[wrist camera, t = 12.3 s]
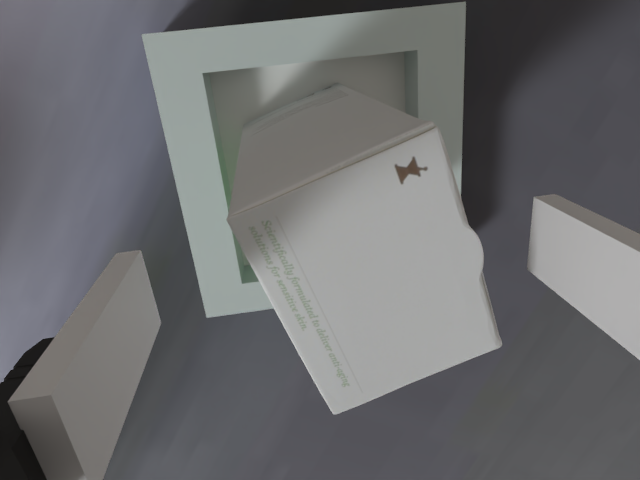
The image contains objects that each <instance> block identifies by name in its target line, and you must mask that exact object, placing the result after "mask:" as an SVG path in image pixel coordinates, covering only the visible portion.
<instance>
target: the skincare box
mask: <svg viewBox="0 0 640 480" xmlns="http://www.w3.org/2000/svg"><path fill="white" fill-rule="evenodd" d="M226 220H227V222H228V224H229V226H230V228H231V230H232V231H233V233H234V235H235V237H236V239H237V241H238V242H239V244H240V246H241V248H242V250H243V252H244V254H245V256H246V258H247V260H248V261H249V263H250V265H251V267H252V269H253V271H254V272H255V274H256V276H257V278H258V280H259V282H260V284H261V285H262V287H263V289H264V291H265V293H266V295H267V296H268V298H269V300H270V302H271V304H272V305H273V307H274V309H275V311H276V313H277V315H278V317H279V319H280V320H281V322H282V324H283V326H284V328H285V330H286V332H287V333H288V335H289V337H290V339H291V341H292V343H293V344H294V346H295V348H296V350H297V352H298V354H299V355H300V357H301V359H302V361H303V363H304V364H305V366H306V368H307V370H308V372H309V373H310V375H311V377H312V379H313V380H314V382H315V384H316V386H317V387H318V389H319V391H320V393H321V395H322V396H323V398H324V400H325V401H326V403H327V405H328V406H329V408H330V410H331V411H332V413H333V414H338V413H341V412H343V411H346V410H348V409H351V408H353V407H356V406H359V405H361V404H363V403H366V402H368V401H370V400H373V399H375V398H378V397H380V396H382V395H384V394H387V393H389V392H391V391H394V390H396V389H398V388H400V387H403V386H405V385H407V384H410V383H412V382H415V381H417V380H420V379H422V378H425V377H427V376H430V375H432V374H435V373H437V372H440V371H442V370H445V369H447V368H450V367H452V366H455V365H457V364H459V363H462V362H464V361H467V360H469V359H472V358H474V357H477V356H479V355H482V354H484V353H487V352H490V351H492V350H495V349H497V348H500V347H501V346H502V341H501V338H500V336H499V333H498V329H497V325H496V321H495V317H494V314H493V310H492V306H491V302H490V298H489V294H488V290H487V287H486V283H485V279H484V275H483V271H482V268H483V262H484V254H483V248H482V245H481V242H480V240H479V238H478V236H477V234H476V233H475V232H474V230H473V229H472V228H471V227H470V226H469V224H468V221H467V217H466V214H465V210H464V207H463V203H462V200H461V196H460V193H459V189H458V186H457V182H456V179H455V176H454V173H453V170H452V166H451V162H450V159H449V155H448V152H447V149H446V146H445V143H444V139H443V137H442V134H441V132H440V129H439V128H438V127H437V126H436V125H435V124H434V122H432V121H425V120H421V119H418V118H416V117H413V116H411V115H409V114H406V113H404V112H402V111H400V110H398V109H395V108H393V107H391V106H389V105H387V104H384V103H382V102H380V101H378V100H375V99H373V98H371V97H368V96H366V95H364V94H362V93H360V92H357V91H355V90H353V89H351V88H348V87H346V86H345V85H343V84H340V83H336V84H333V85H331V86H328V87H326V88H324V89H321V90H319V91H317V92H314V93H312V94H310V95H307V96H305V97H303V98H301V99H298V100H296V101H294V102H292V103H289V104H287V105H285V106H283V107H281V108H278V109H276V110H274V111H272V112H270V113H267V114H265V115H263V116H261V117H259V118H256V119H254V120H252V121H250V122H248V123H246V124H244V125H243V131H242V136H241V142H240V149H239V154H238V161H237V167H236V172H235V178H234V184H233V190H232V198H231V201H230V207H229V213H228V217H227V219H226Z"/></svg>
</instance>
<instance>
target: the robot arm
mask: <svg viewBox="0 0 640 480" xmlns="http://www.w3.org/2000/svg"><path fill="white" fill-rule="evenodd" d="M527 270H529V271H530V272H531V273H532V274H534V275H535V276H536V277H537V278H539V279H540V280H541V281H542V282H544V283H545V284H546V285H547V286H548V287H550V288H551V289H552V290H553V291H555V292H556V293H557V294H558V295H560V296H561V297H562V298H563V299H565V300H566V301H567V302H568V303H570V304H571V305H572V306H573V307H575V308H576V309H577V310H578V311H579V312H581V313H582V314H583V315H584V316H586V317H587V318H588V319H589V320H591V321H592V322H593V323H594V324H596V325H597V326H598V327H599V328H601V329H602V330H603V331H604V332H606V333H607V334H608V335H609V336H611V337H612V338H613V339H614V340H615V341H617V342H618V343H619V344H620V345H622V346H623V347H624V348H625V349H627V350H628V351H629V352H630V353H632V354H633V355H634V356H635V357H637V358H638V359H639V360H640V234H639V233H636V232H634V231H632V230H630V229H628V228H626V227H624V226H622V225H619V224H617V223H615V222H613V221H611V220H609V219H607V218H605V217H603V216H600V215H598V214H596V213H594V212H592V211H590V210H588V209H586V208H584V207H581V206H579V205H577V204H575V203H573V202H571V201H569V200H567V199H565V198H562V197H560V196H558V195H556V194H552V195H545V196H537V197H534V200H533V211H532V222H531V232H530V243H529V254H528V264H527ZM160 325H161V321H160V317H159V313H158V310H157V306H156V303H155V299H154V295H153V292H152V288H151V285H150V281H149V278H148V274H147V270H146V267H145V263H144V260H143V256H142V252H141V250H137V251H130V252H122V253H116V254H115V256H114V257H113V258H112V260H111V261H110V263H109V264H108V265H107V267H106V268H105V269H104V271H103V272H102V273H101V275H100V276H99V278H98V279H97V280H96V282H95V283H94V284H93V286H92V287H91V288H90V290H89V291H88V293H87V294H86V295H85V297H84V298H83V299H82V301H81V302H80V304H79V305H78V306H77V308H76V309H75V310H74V312H73V313H72V314H71V316H70V317H69V319H68V320H67V321H66V323H65V324H64V325H63V327H62V328H61V329H60V331H59V332H58V334H57V335H56V336H55V337H53V338H47V339H43V340H41V341H40V342H39V343H37V344H36V345H34V346H33V347H32V348H30V349H29V350H28V351H26V352H25V353H24V354H23V356H22V357H21V358H20V359H19V361H18V362H17V363H16V364H15V366H14V369H13V370H11V371H10V372H9V373H8V375H7V376H6V377H5V378H4V382H1V383H0V480H103V477H104V475H105V472H106V469H107V467H108V464H109V461H110V459H111V456H112V453H113V451H114V448H115V445H116V442H117V440H118V437H119V434H120V432H121V429H122V426H123V424H124V421H125V418H126V416H127V413H128V410H129V408H130V405H131V402H132V400H133V397H134V394H135V392H136V389H137V386H138V384H139V381H140V378H141V376H142V373H143V370H144V368H145V365H146V362H147V360H148V357H149V354H150V352H151V349H152V346H153V344H154V341H155V338H156V336H157V333H158V330H159V328H160Z"/></svg>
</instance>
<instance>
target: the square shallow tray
mask: <svg viewBox="0 0 640 480" xmlns="http://www.w3.org/2000/svg"><path fill="white" fill-rule="evenodd" d="M465 23H466V2H457V3H447V4H437V5H427V6H417V7H408V8H398V9H388V10H378V11H368V12H358V13H348V14H339V15H329V16H319V17H309V18H299V19H289V20H279V21H270V22H260V23H250V24H240V25H230V26H220V27H210V28H201V29H191V30H181V31H171V32H161V33H151V34H142V39H143V43H144V47H145V52H146V56H147V60H148V65H149V69H150V73H151V78H152V82H153V86H154V91H155V95H156V99H157V104H158V108H159V113H160V117H161V121H162V126H163V130H164V134H165V139H166V143H167V147H168V152H169V156H170V160H171V165H172V169H173V173H174V178H175V182H176V186H177V191H178V195H179V199H180V204H181V208H182V212H183V217H184V221H185V225H186V230H187V234H188V238H189V243H190V247H191V251H192V256H193V260H194V264H195V269H196V273H197V278H198V282H199V286H200V291H201V295H202V299H203V304H204V308H205V312H206V317H207V318H208V317H215V316H223V315H230V314H237V313H244V312H252V311H259V310H266V309H273V308H274V307H273V305H272V304H271V302H270V300H269V298H268V296H267V295H266V293H265V291H264V289H263V287H262V285H261V284H260V282H259V280H258V278H257V276H256V274H255V272H254V271H253V269H252V267H251V265H250V263H249V261H248V260H247V258H246V256H245V254H244V252H243V250H242V248H241V246H240V244H239V242H238V241H237V239H236V237H235V235H234V233H233V231H232V230H231V228H230V226H229V224H228V222H227V220H226V219H227V217H228V213H229V207H230V201H231V198H232V190H233V184H234V178H235V172H236V167H237V161H238V154H239V149H240V142H241V136H242V131H243V125H244V124H246V123H248V122H250V121H252V120H254V119H256V118H259V117H261V116H263V115H265V114H267V113H270V112H272V111H274V110H276V109H278V108H281V107H283V106H285V105H287V104H289V103H292V102H294V101H296V100H298V99H301V98H303V97H305V96H307V95H310V94H312V93H314V92H317V91H319V90H321V89H324V88H326V87H328V86H331V85H333V84H336V83H340V84H343V85H345V86H346V87H348V88H351V89H353V90H355V91H357V92H360V93H362V94H364V95H366V96H368V97H371V98H373V99H375V100H378V101H380V102H382V103H384V104H387V105H389V106H391V107H393V108H395V109H398V110H400V111H402V112H404V113H406V114H409V115H411V116H413V117H416V118H418V119H421V120H425V121H432V122H434V124H435V125H436V126H437V127H438V128H439V129H440V132H441V134H442V137H443V139H444V143H445V146H446V149H447V152H448V155H449V159H450V162H451V166H452V170H453V173H454V176H455V179H456V182H457V186H458V189H459V193H460V196H461V171H462V134H463V97H464V60H465Z"/></svg>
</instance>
